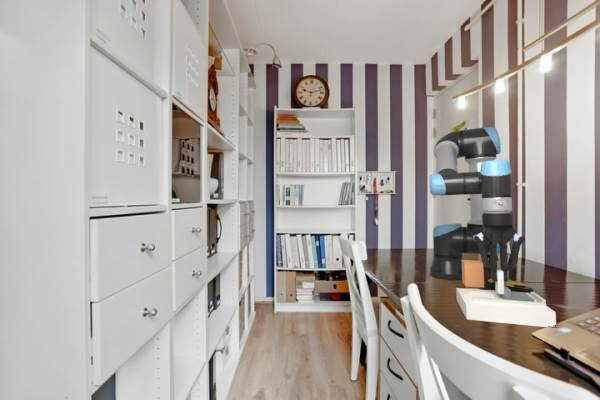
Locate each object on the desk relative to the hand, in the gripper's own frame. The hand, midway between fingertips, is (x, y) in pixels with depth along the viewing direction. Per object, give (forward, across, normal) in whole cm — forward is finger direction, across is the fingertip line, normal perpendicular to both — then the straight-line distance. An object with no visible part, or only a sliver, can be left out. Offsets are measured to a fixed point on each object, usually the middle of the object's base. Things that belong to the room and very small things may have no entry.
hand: (499, 292), depth 87 cm
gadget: (+6, +8, +19) cm, 22 cm away
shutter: (+2, +4, 0) cm, 4 cm away
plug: (+6, -4, +15) cm, 17 cm away
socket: (+6, 0, 0) cm, 6 cm away
